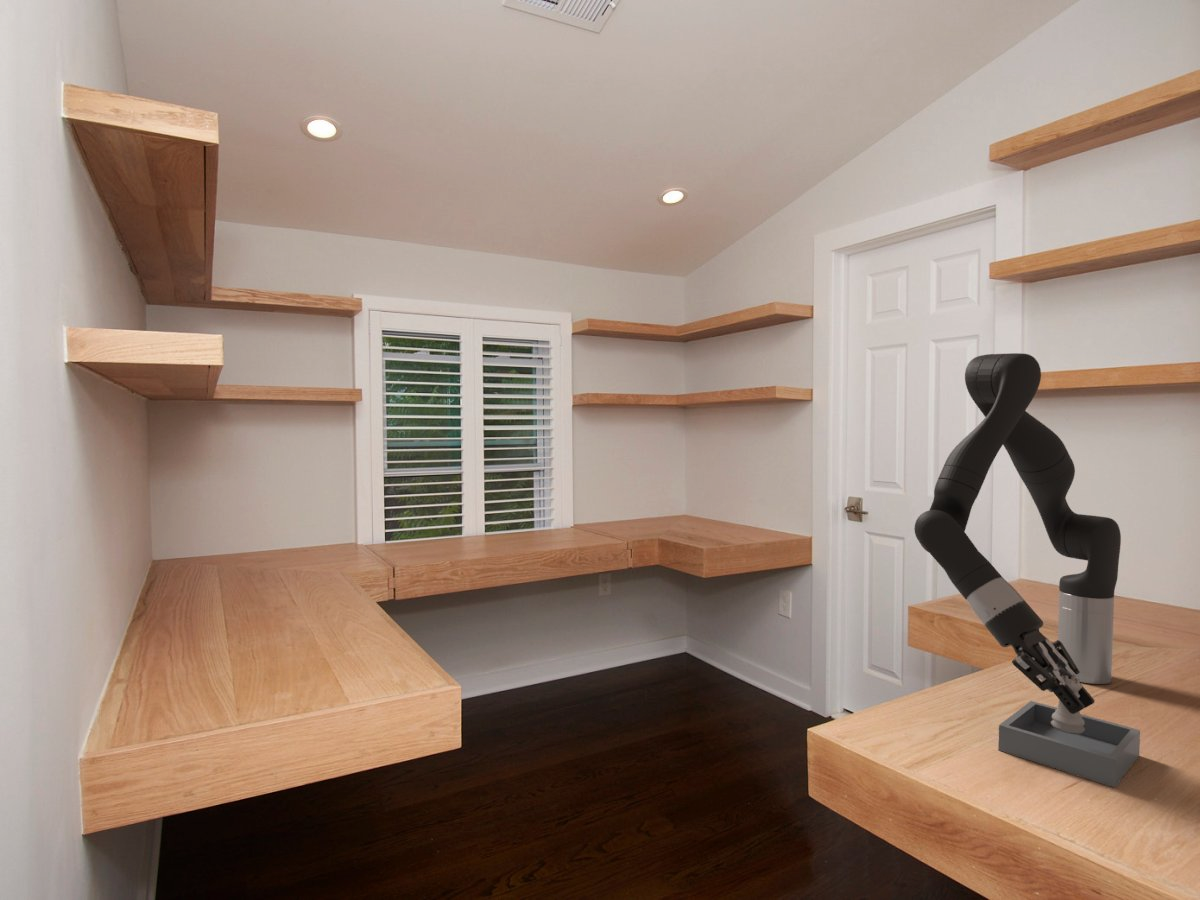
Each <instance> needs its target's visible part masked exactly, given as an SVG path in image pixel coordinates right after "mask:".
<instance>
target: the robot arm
mask: <svg viewBox="0 0 1200 900" xmlns="http://www.w3.org/2000/svg"><path fill="white" fill-rule="evenodd" d="M1041 378H1042V370H1041V366H1040V364H1039V362H1038V360H1037V359H1036V358H1035V357H1034V356H1033V355H1031V354H1028V353H1020V352H1019V353H1017V352H1015V353H988V354H984V355H983V354H982V355H977V356H975V357H974V358H972V359H971V360H970V361H969V362H968V364H967V366H966V367H965V372H964V382H965V387H966V389H967V392H968V394H969V396H970V398H971V399H972V401H973V403H975V405H976V406H977V408H978V409H979V411H981V413H982V414H983V416H984V419H983V420H982V421H981V422H980V423H979V424H978V425H977V426H976V427H975V428H974V429H973V430H971V432H970V433H968V435H967V436H965V437H964V438H963V439H961V441H960V442H959V443H957V445H955V446H954V448H953V449H952V451H951V452H950V453H949V455H948V457H947V458H946V460H945V462H944V464H943V467H942V469H941V471H940V473H939V476H938V478H937V481H936V483H935V486H934V491H933V500H932V502H931V506H930V507H929V510H927V511H925V512H922V513H921V514H919V516H918V517H917V519H916V520H915V524H914V528H913V529H914V534H915V537H916V539H917V541H918V542H919V544H920V545H921V547H922V548H923V549H924V551H926V552H928V553H929V554H930V555H931V556H932V557H933V559H934V560H935V561H936V562H937V563H938V565H940V567H941V568H942V569H943V570H944V571H945V573H946V575H947V577H948V579H949V580H950V581H951V583H952V585H954V587H955V588H956V589H957V591H958V593H960V595H961V596H962V597H963V598H964V600H966V602H967V603H968V605H969V607H970V608H971V610H972V612H973V613H974V614H975V616H976V617H977V618H978V619H979V620H980V622H981V624H983V626H984V627H985V628H986V629H987V630H988V631H989V633H990V634H991V636H992V637H994V639H995V640H996V641H997V642H998V644H999V645H1000V646H1001V647H1002V648H1008V647H1012V649H1013V651H1014V653H1015V654H1016V655H1017V656H1016V658H1014V659H1012V660H1011V663H1012V665H1013V666H1014V667H1015V668H1017V670H1019V672H1020V673H1022V674H1023V675H1024V676H1025V677H1026V678H1027V679H1028V680H1029V681H1031V682H1032V683H1033V684H1034V685H1035V686H1036V687H1037V688H1039V690H1040V691H1043V692H1044V691H1048V692H1050V693H1053V694H1054V695H1055V696H1056V697H1057V698H1058V700H1060V701H1061V702H1062V703H1063V705H1064V706H1065V707H1066V708H1067V710H1068V711H1069V712H1070V713H1072V714H1075V713H1077V712H1081V711H1082V710H1084V709H1086V708H1087V707H1089V706H1092V705H1094V703H1095V699H1094V698H1093V696H1092V695H1091V694H1090V693H1089V692H1088V691H1087V689H1086V688H1085V687H1084V686H1083V685H1082V688H1081V689H1080V690H1079V691H1078V694H1079V695H1080V697H1079V698H1078V697H1077V696H1076V695H1075V694H1074V693H1073V691H1072V690H1071V689H1070V688H1069V687H1068V685H1066V686H1064V685H1065V682H1064V680H1063V679H1062V678H1061V676H1064V678H1065V675H1067V676H1068V679H1071V677H1075V680H1076V678H1078V679H1079V683H1080V684H1081V683H1085V684H1092V685H1105V684H1106V685H1107V684H1110V683H1111V682H1112V673H1113V672H1112V670H1113V669H1112V665H1113V642H1114V641H1113V639H1114V618H1115V617H1114V615H1115V611H1114V609H1115V608H1114V607H1115V589H1116V587H1117V582H1118V576H1119V574H1118V573H1119V562H1120V555H1121V554H1120V553H1121V545H1122V544H1121V543H1122V541H1121V540H1122V539H1121V538H1122V537H1121V536H1122V535H1121V530H1120V526H1119V524H1118V522H1117V521H1115V520H1114V519H1113V518H1112V517H1107V516H1099V515H1092V514H1091V515H1088V514H1082V513H1076V512H1074V511H1073V510H1072V509H1071V507H1070V506H1069V504H1068V501H1067V499H1066V497H1067V495H1068V492H1069V490H1070V488H1071V486H1072V484H1073V481H1074V479H1075V473H1076V468H1075V464H1074V462H1073V459H1072V458H1071V455H1070V454H1069V451H1068V449H1067V448H1066V445H1065V443H1064V442H1063V440H1061V438H1060V437H1059V436H1058V435H1057V433H1055V432H1054V431H1053V430H1051V429H1050V427H1048V426H1046V425H1045V424H1044V423H1043V422H1041V421H1040V420H1038V419H1037V418H1036V417H1035V416H1033V415H1031V414H1030V412H1028V411H1026V410H1027V409H1028V407H1029V406H1030V404H1031V403H1032V401H1033V399H1034V397H1035V395H1036V394H1037V391H1038V390H1039V387H1040V384H1041ZM1003 446H1004V449H1005V451H1006V452H1007V453H1008V455H1009V458H1010V460H1011V462H1012V464H1013V466H1014V467H1015V470H1016V471H1017V474H1018V476H1019V477H1020V479H1021V480H1022V482H1023V484H1024V485H1025V487H1026V489H1027V491H1028V493H1029V494H1030V496H1031V499H1032V501H1033V502H1034V505H1035V506H1036V508H1037V510H1038V513H1039V515H1040V517H1041V521H1042V523H1043V526H1044V528H1045V530H1046V533H1047V536H1048V538H1049V540H1050V543H1051V546H1052V547H1053V549H1054V550H1055V551H1056V552H1057V553H1058V554H1060V555H1061V556H1063V557H1066V558H1070V559H1076V560H1082V561H1087V564H1086V569H1085V570H1084V571H1082V572H1080V573H1073V574H1067V575H1063V576H1061V577H1060V579H1059V582H1058V583H1059V587H1058V589H1059V591H1058V615H1057V616H1058V617H1057V618H1058V619H1057V640H1055V641H1054V642H1052V641H1050V640H1049V639H1048V638H1047V637H1046V636H1045V635H1044V634H1043V633H1042V632H1040V629H1041V628H1042V627H1043V626H1044V621H1043V620H1042V618H1041V617H1040V616H1039V615H1038V614H1037V613H1036V612H1035V610H1034V609H1033V608H1032V607H1031V605H1030V604H1028V603H1027V601H1026V600H1025V598H1023V597H1022V595H1020V593H1019V592H1018V591H1017V589H1016V588H1015V587H1013V585H1011V584H1010V583H1009V582H1008V581H1007V580H1006V579H1005V578H1004V577H1003V576H1002V575H1001V573H1000V572H999V571H998V570H997V569H996V568H995V567H994V565H993V564H992V563H991V562H990V561H989V560H988V559H987V558H986V557H985V556H984V555H983V554H982V553H981V552H980V551H979V550H978V548H977V547H976V546H975V544H974V543H973V541H972V540H971V538H969V536H968V535H967V533H966V532H965V531H966V528H967V526H968V523H969V519H970V516H971V515H970V514H971V511H972V509H973V506H974V503H975V502H976V499H977V498H978V495H979V493H980V491H981V489H982V486H983V485H984V483H985V479H986V477H987V475H988V472H989V470H990V469H991V467H992V464H993V462H994V460H995V459H996V456H997V455H998V453H999V451H1000V450H1001V448H1002V447H1003Z"/></svg>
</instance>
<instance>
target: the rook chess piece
mask: <svg viewBox="0 0 1200 900" xmlns="http://www.w3.org/2000/svg"><path fill="white" fill-rule="evenodd" d="M1061 678H1062V679H1063V680H1064V682H1065V685H1064V686H1066V685H1068V687H1069V688H1070V689H1071V690H1072V691H1073V693H1074V694H1075V695H1076V696H1077V697H1078V698H1079V697H1080V695H1079V694H1078V691H1079V690H1080V689H1081V688H1082V686H1083V685H1082V683H1081V682H1080V683H1079V679H1078V678H1076V680H1075V677H1071V679H1068V676H1067V675H1065V678H1064V676H1061ZM1058 700H1059V699H1058ZM1056 708H1057V709H1056V710H1055V712H1054V713H1053V714H1052V719H1053V720H1052V721H1051V724H1052V725H1053V727H1054V728H1055V729H1057V730H1059V731H1062V732H1065V733H1069V734H1081V733H1083V732H1084V731H1085V728H1084V727H1083V726H1084V725H1085V722H1084V720H1083V719H1082V718H1081V717H1082V715H1083V714H1082V715H1081V711H1079V712H1077V713H1075V714H1072V713H1070V712H1069V711H1068V710H1067V708H1066V707H1065V706H1064V705H1063V703H1062V702H1061V701H1060V700H1059V702H1058V705H1057V707H1056Z"/></svg>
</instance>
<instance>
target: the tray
mask: <svg viewBox="0 0 1200 900" xmlns="http://www.w3.org/2000/svg"><path fill="white" fill-rule="evenodd" d="M1056 709H1057V707H1055V706H1051V705H1048V704H1044V703H1040V702H1038V701H1037V702H1036V701H1033V700H1030V701H1028V702H1027V703H1026V704H1025V705H1023V706H1022V707H1021V708H1019V709H1018V710H1017V711H1016V712H1014V713H1013V714H1012V715H1010V716H1009V717H1008V718H1006V719H1005V720H1003V721H1002V722H1001V723H1000V724H998V751H1000V752H1002V751H1003V753H1005V754H1006V753H1007V754H1009V755H1012V756H1016V757H1017V758H1018V757H1019V758H1022V759H1023V760H1024V759H1025V760H1027V759H1028V760H1027V761H1030V760H1031V762H1033V761H1034V763H1036V762H1037V764H1039V763H1040V765H1043V764H1044V765H1043V766H1046V765H1047V766H1046V767H1049V768H1052V769H1055V768H1056V769H1055V770H1059V771H1061V770H1062V771H1061V772H1064V771H1065V773H1068V774H1070V775H1074V776H1076V775H1078V777H1079V776H1080V778H1083V777H1084V778H1083V779H1086V778H1087V779H1086V780H1089V779H1091V780H1090V781H1092V780H1094V781H1093V782H1095V781H1096V782H1095V783H1098V782H1099V783H1098V784H1101V783H1102V785H1104V784H1105V785H1104V786H1107V785H1108V787H1110V786H1111V787H1110V788H1113V789H1116V788H1117V786H1118V785H1119V783H1120V782H1121V781H1120V780H1122V779H1123V778H1124V777H1123V776H1125V775H1126V774H1127V773H1128V771H1129V770H1130V769H1129V768H1131V767H1132V766H1133V764H1134V763H1135V762H1136V760H1138V757H1139V756H1140V748H1141V747H1140V744H1141V743H1140V742H1141V739H1140V738H1141V729H1138V728H1133V727H1130V726H1127V725H1123V724H1118V723H1115V722H1112V721H1107V720H1105V719H1100V718H1096V717H1092V716H1089V715H1085V714H1081V713H1080V714H1081V715H1082V717H1081V718H1082V719H1083V720H1084V722H1085V725H1084V726H1083V727H1084V728H1085V731H1084V732H1083V733H1081V734H1069V733H1065V732H1062V731H1059V730H1057V729H1055V728H1054V727H1053V725H1052V724H1051V721H1052V720H1053V719H1052V714H1053V713H1054V712H1055V710H1056ZM1126 772H1127V773H1126ZM1124 774H1125V775H1124ZM1122 777H1123V778H1122ZM1119 781H1120V782H1119ZM1117 784H1118V785H1117Z"/></svg>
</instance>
